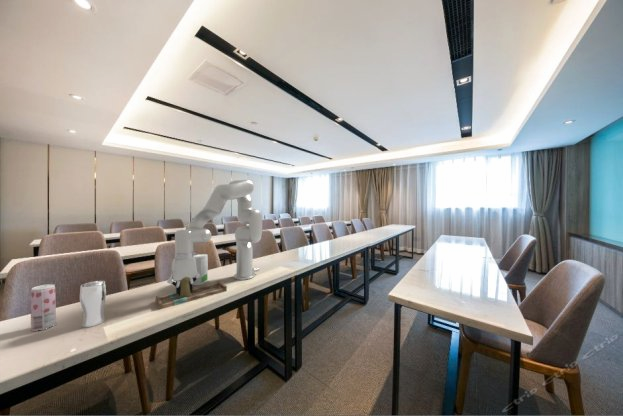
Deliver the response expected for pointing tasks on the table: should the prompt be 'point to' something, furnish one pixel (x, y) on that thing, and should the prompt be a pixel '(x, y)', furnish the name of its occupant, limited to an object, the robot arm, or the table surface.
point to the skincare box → (201, 269)
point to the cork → (184, 288)
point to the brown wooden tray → (183, 300)
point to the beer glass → (92, 302)
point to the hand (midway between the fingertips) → (184, 292)
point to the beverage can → (43, 307)
